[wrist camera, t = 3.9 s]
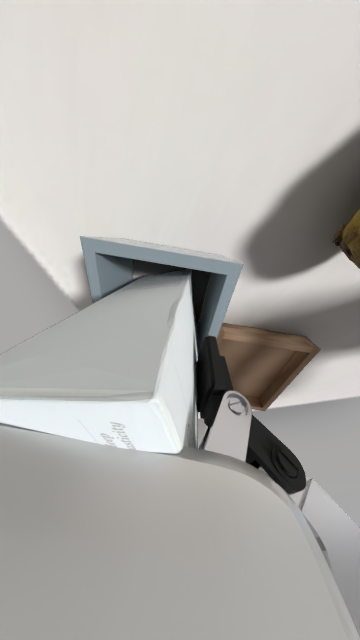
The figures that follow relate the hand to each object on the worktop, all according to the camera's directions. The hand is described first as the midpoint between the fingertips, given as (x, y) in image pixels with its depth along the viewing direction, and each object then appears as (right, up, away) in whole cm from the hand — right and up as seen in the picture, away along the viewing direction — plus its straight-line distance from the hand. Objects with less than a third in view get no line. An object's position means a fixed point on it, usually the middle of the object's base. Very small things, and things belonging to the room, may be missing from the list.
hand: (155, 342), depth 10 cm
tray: (+12, -6, +12) cm, 18 cm away
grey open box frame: (0, +4, +7) cm, 8 cm away
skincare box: (+1, +4, +7) cm, 8 cm away
